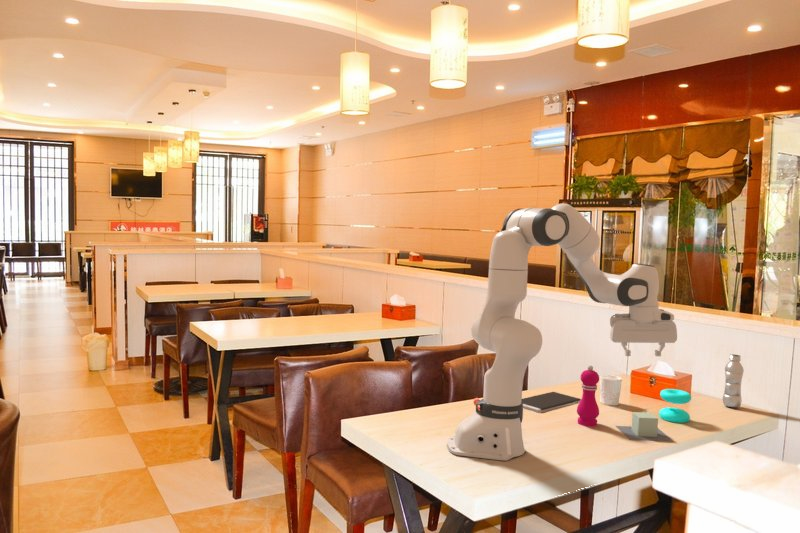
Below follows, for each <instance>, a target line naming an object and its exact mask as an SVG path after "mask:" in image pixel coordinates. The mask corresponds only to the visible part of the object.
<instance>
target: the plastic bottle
mask: <svg viewBox="0 0 800 533" xmlns="http://www.w3.org/2000/svg"><path fill="white" fill-rule="evenodd" d="M728 360H729V362H727V363H726V364H725V366H724V374H725V383H724V384H725V385H724V392H723V396H722V403H723V405H724V406H726V407H728V408H735V409H736V408H740V406H741V405H742V403H743V400H742V392H741V391H742V381H743V376H744V366H743V365H742V363H741V355H739V354H731V353H730V354H729V359H728Z"/></svg>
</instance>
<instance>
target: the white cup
mask: <svg viewBox="0 0 800 533" xmlns="http://www.w3.org/2000/svg"><path fill="white" fill-rule="evenodd" d="M622 382H623V378H622V377H620V376H618V375H612V374H602V375H599V402H600V403H601V405H605V404H606V406H618V405H619V404H620V398H621V389H622Z"/></svg>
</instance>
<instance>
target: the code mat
mask: <svg viewBox="0 0 800 533" xmlns="http://www.w3.org/2000/svg"><path fill="white" fill-rule="evenodd" d="M615 427H616V429H618V430H619V431H620V432H621V433H622V434H623V435H624V436H625V437H626V438H627V439H628V440H629V441H643V442H644V441H646V442H647V441H648V442H664V443H665V442H666V443H669V442H670V443H675V441H674V440H673V439H672V438H671V437H669V436H668V435H667V434H666V433H665V432H663V431H662V430H661V429H660V428H658V429H657V437H645V436H637V435H636V434H635V433H634V432H633V431H632V430H631V429H632V425H631V426H625V425H615Z"/></svg>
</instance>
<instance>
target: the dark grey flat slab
mask: <svg viewBox="0 0 800 533" xmlns="http://www.w3.org/2000/svg"><path fill="white" fill-rule="evenodd" d="M581 399H582V398H579V397H575V396H572V395H569V394H565V393H560V392H557V391H551V392H545V393H542V394H537V395H533V396H529V397H524V398H523V397H522V403H523V409H524V410H529V411H532V412H535V413H538V414H539V413H544V412H548V411H552V410H555V409H559V408H563V407H567V406H570V404H571V405H574V404H578V403H579V402H580V401H581ZM577 402H578V403H577ZM573 403H574V404H573ZM566 405H567V406H566Z"/></svg>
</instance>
